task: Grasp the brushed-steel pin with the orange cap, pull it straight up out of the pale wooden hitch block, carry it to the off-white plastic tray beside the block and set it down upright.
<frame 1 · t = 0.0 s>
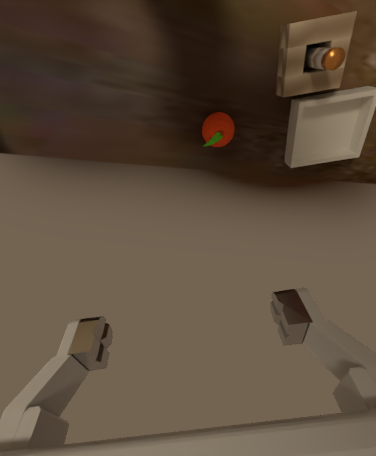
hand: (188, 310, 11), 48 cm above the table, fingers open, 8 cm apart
tray: (322, 127, 53), on the table
hitch block: (306, 57, 45), on the table
clementine: (213, 127, 52), on the table
pin: (319, 58, 41), in the hitch block
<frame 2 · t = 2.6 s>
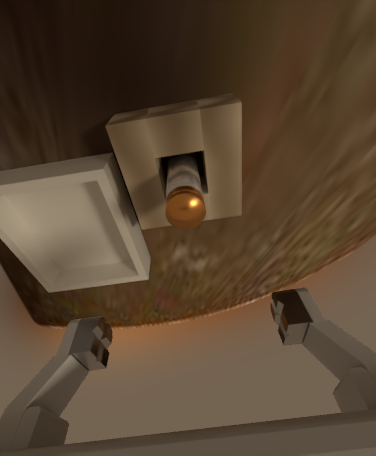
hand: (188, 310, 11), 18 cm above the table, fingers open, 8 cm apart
tray: (81, 222, 29), on the table
hitch block: (182, 160, 25), on the table
pin: (183, 181, 21), in the hitch block
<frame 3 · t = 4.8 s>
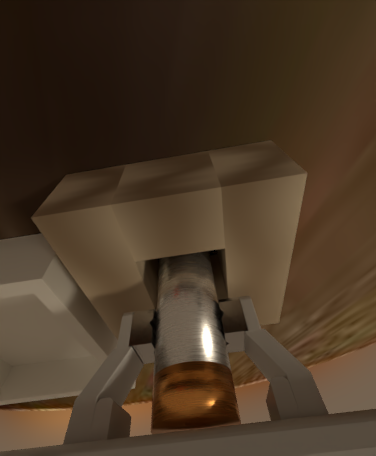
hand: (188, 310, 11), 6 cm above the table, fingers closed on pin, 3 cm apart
tray: (34, 312, 20), on the table
hitch block: (183, 235, 15), on the table
pin: (187, 299, 12), in the hitch block, touching gripper
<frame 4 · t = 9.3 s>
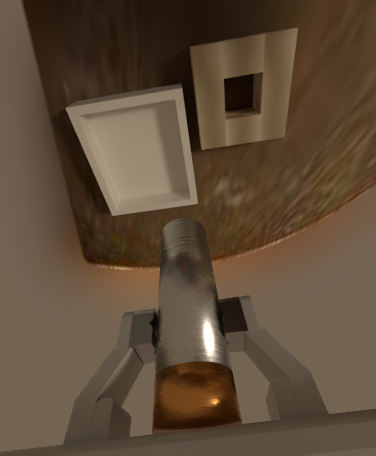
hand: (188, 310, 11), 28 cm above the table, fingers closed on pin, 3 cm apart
tray: (144, 152, 35), on the table
hitch block: (236, 91, 30), on the table
pin: (188, 299, 12), point 28 cm above the table, touching gripper
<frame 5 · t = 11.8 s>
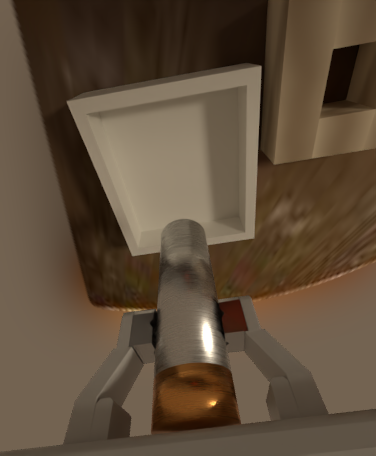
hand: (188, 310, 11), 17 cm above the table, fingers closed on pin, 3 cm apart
tray: (179, 166, 24), on the table
hitch block: (327, 75, 20), on the table
pin: (187, 300, 12), point 16 cm above the table, touching gripper
when the fingers open (8 cm above the table, at t = 14.1 s): pin drops 1 cm, resting on tray.
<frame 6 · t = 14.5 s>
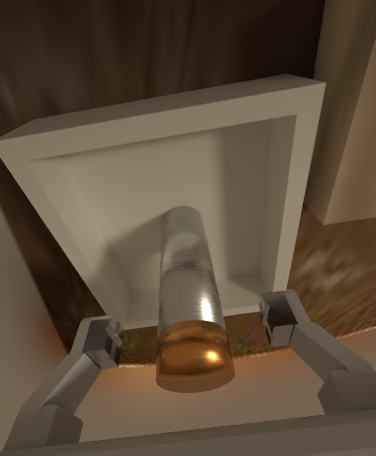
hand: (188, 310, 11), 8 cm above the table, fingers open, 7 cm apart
tray: (181, 215, 17), on the table
pin: (187, 276, 13), in the tray, point 6 cm above the table
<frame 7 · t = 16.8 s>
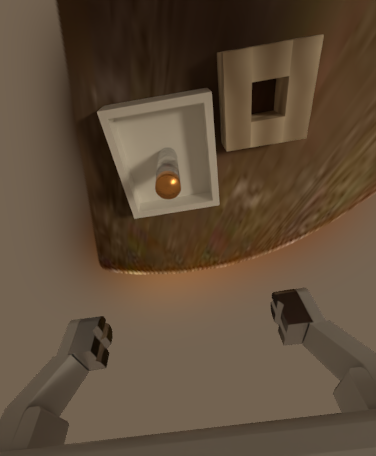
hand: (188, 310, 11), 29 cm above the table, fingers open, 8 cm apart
tray: (166, 155, 35), on the table
hitch block: (258, 95, 31), on the table
pin: (167, 170, 31), in the tray, point 6 cm above the table
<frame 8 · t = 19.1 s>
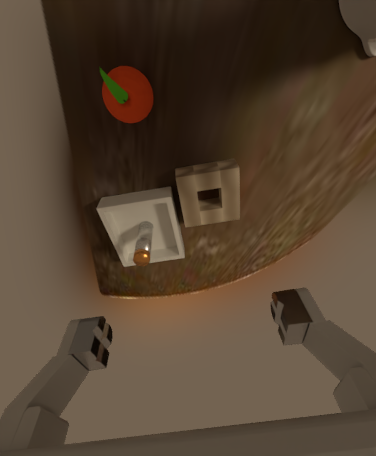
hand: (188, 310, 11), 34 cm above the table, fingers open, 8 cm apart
tray: (146, 223, 50), on the table
hitch block: (207, 189, 46), on the table
clementine: (129, 88, 35), on the table
pin: (144, 242, 45), in the tray, point 6 cm above the table
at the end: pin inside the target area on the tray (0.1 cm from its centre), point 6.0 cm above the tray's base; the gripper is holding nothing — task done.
